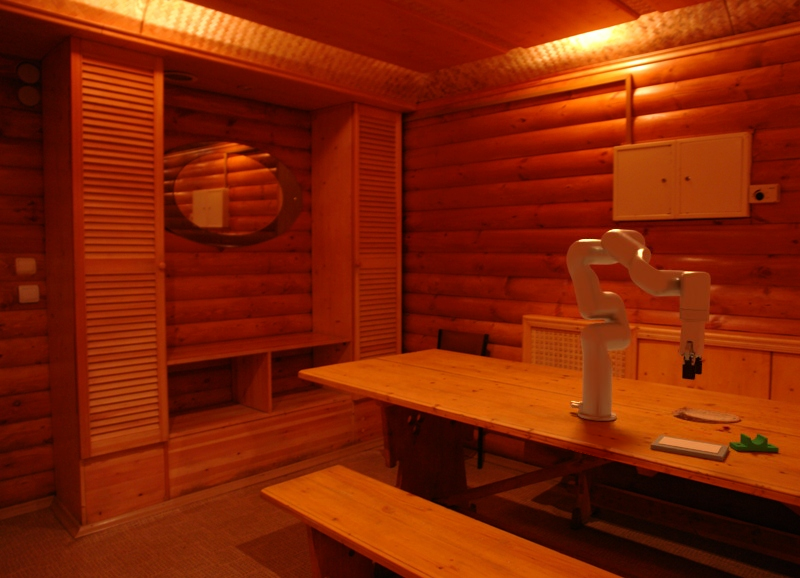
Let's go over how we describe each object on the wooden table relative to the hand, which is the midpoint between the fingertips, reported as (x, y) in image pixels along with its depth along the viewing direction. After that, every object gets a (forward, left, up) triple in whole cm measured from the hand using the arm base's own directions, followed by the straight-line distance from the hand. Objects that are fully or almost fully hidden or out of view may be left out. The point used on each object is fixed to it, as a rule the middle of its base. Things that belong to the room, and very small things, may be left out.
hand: (692, 376), depth 170 cm
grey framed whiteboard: (0, -1, -21) cm, 21 cm away
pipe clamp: (+11, +12, -18) cm, 24 cm away
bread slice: (-2, +37, -21) cm, 43 cm away
